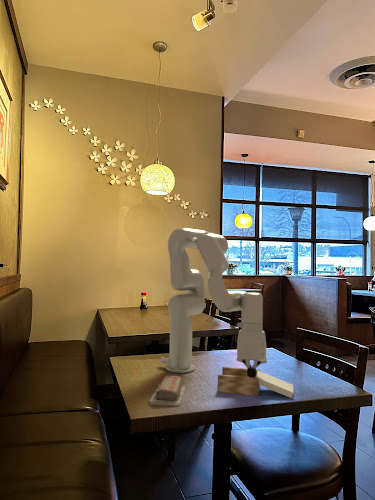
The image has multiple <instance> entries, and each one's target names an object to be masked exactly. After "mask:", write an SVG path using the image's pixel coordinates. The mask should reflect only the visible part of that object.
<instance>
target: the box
mask: <svg viewBox="0 0 375 500" xmlns="http://www.w3.org/2000/svg"><path fill="white" fill-rule="evenodd" d="M257 371H261V370H260V369H256V374H257ZM260 389H261V385H259V384H258V378H256V377H254V378H250V377H249V376H247V368H244V367H243V368H241V367H231V366H230V367H229V366H222V374H217V392H218V393H228V394H235V395H236V394H237V395H244V396H254V397H255V396H256V397H259V394H260Z"/></svg>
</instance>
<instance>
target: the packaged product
mask: <svg viewBox="0 0 375 500" xmlns="http://www.w3.org/2000/svg"><path fill="white" fill-rule="evenodd" d="M186 387H187V385H186V384H182V377H181V376H179V375H164V377H163V378H162V380H161V382H159V383H158V385H157V387H156V388H155V390H154V392H153V393H152V395H151V397H150V399H149V405H153V406H168V407H169V406H171V407H172V406H174V407H181V404H182V401H183V397H184V394H185V391H186Z"/></svg>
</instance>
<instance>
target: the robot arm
mask: <svg viewBox="0 0 375 500" xmlns="http://www.w3.org/2000/svg"><path fill="white" fill-rule="evenodd" d="M167 249H168V250H167V251H168V254H169V270H170V271H169V273H170V286H171V288H172V289H173V290H174V291H177V292H186V291H187V293H181V294H180V293H179V294H174V295H173V296H172V297H170V298H169V300H168V303H167V309H168V314H169V315H168V316H169V356H167V357H163V356H161V357H160V362H161V363H162V364H166V365H165V370H167V372H171V373H176V374H177V373H179V374H180V373H181V374H182V373H183V374H184V373H185V374H186V373H191V372H193V371H195V370H196V364H193V363H192V361H193V360H192V359H193V350H192V349H193V326H192V325H193V324H192V322H191V319H190V316H196V315H200V314H201V313H203V312H204V310H205V306H206V299H205V298H206V295H205V294H206V293H205V291H206V290H205V280H204V276H203V274H202V273H201V271H199V270H198V269H195V268H191V265H190V257H189V254H188V252H187V251H186V249H194V250H198V252H199V255H200V256H201V258H202V260H203V263H204V265H205V267H206V269H207V271H208V279H207V285H208V286H207V287H208V292H209V295H210V297H211V299H212V301H213V303H214V305H215V307H216V308H217V309H218V310H219V311H221V312H223V313H229V312H238V311H241V322H237V324H236V326H237V327H238V328H240V330H239V331H238V334H237V335H238V336H237V345H236V361H237V362H240V363H243V365H244V366H246V369H247V376H249V377H250V378H254V377H256V370H257V368H258V367H259V366H260V365H263V364H268V360H267V341H266V333H265V331H264V330H263V322H264V321H263V317H264V316H263V312H264V311H263V306H264V305H263V304H264V302H263V301H264V298H263V295H262V293H260V292H254V291H250V292H249V291H248V292H247V291H243V290H228V289H227V288H226V285H225V282H224V280H223V274H224V273H225V272H226V271H227V270H229V269H228V268H229V267H230V263H229V261H228V260H227V257H226V256H225V253H227V251H228V249H229V243H228V240H227V239H226V237H224V236H223V235H220V234H218V233H214V232H211V231H210V232H209V231H206V230H203V229H196V228H195V229H194V228H189V227H179V228H176V229H174V230H172V232H171V233H170V235H169V237H168V241H167ZM251 361H253V364H251Z"/></svg>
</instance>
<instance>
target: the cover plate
mask: <svg viewBox="0 0 375 500" xmlns="http://www.w3.org/2000/svg"><path fill="white" fill-rule="evenodd" d="M256 378H258V384H259V385H260V387H264V388H266V389H268V390H271V391H273V392H276V393H278V394H280V395H282V396H283V395H284V396H285V397H288V398H290V399H292V398H293V395H294V393H295V392H294V384H292V383H290V382H287V381H284V380H283V379H282V380H281V379H279V378H277V377H276V376H275V377H274V376H272V375H270V374H269V373H266V372H264V371H263V372H262V371H261V370H260V371H257V374H256Z"/></svg>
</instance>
